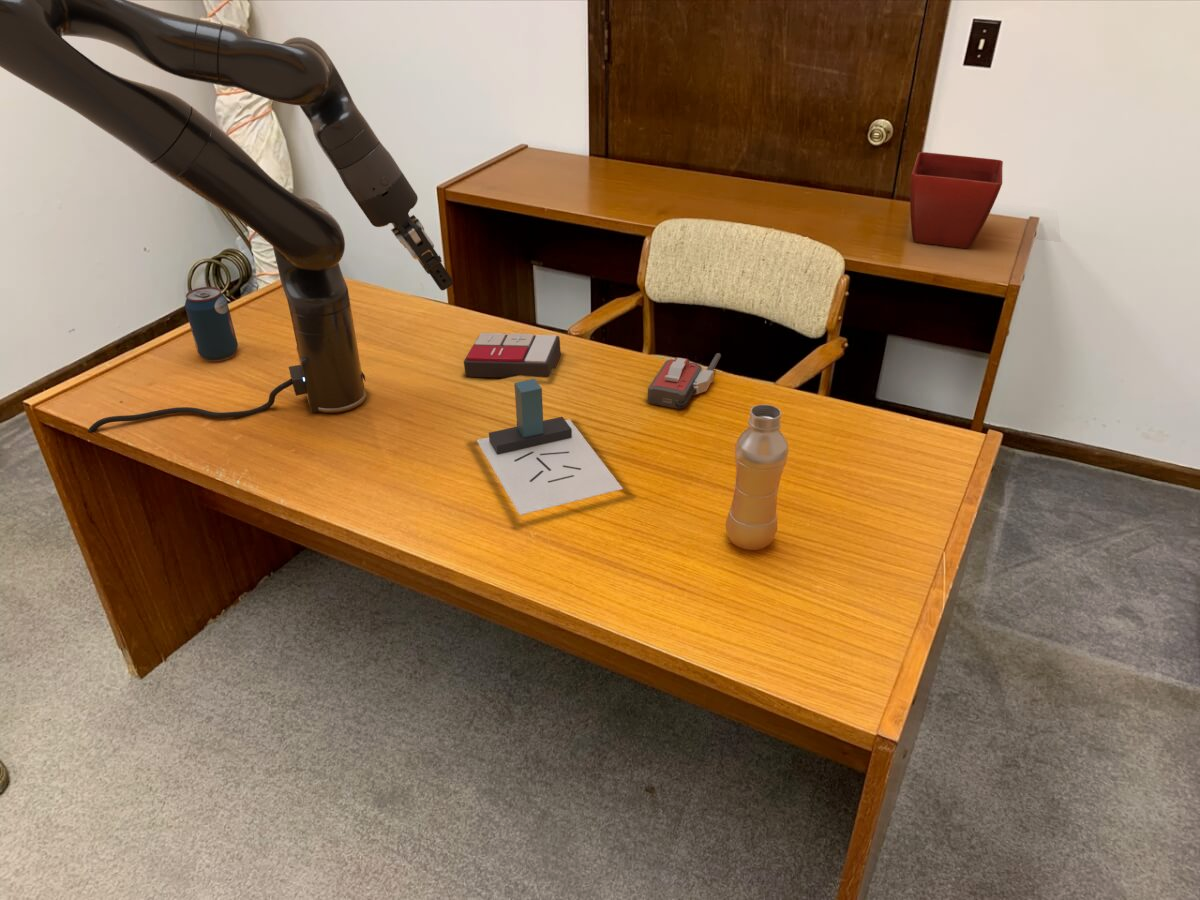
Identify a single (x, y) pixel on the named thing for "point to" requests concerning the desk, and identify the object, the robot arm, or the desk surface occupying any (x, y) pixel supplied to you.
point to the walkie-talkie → (680, 382)
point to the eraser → (529, 422)
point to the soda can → (211, 323)
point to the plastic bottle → (757, 479)
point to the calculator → (512, 355)
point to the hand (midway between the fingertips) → (440, 278)
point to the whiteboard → (550, 473)
